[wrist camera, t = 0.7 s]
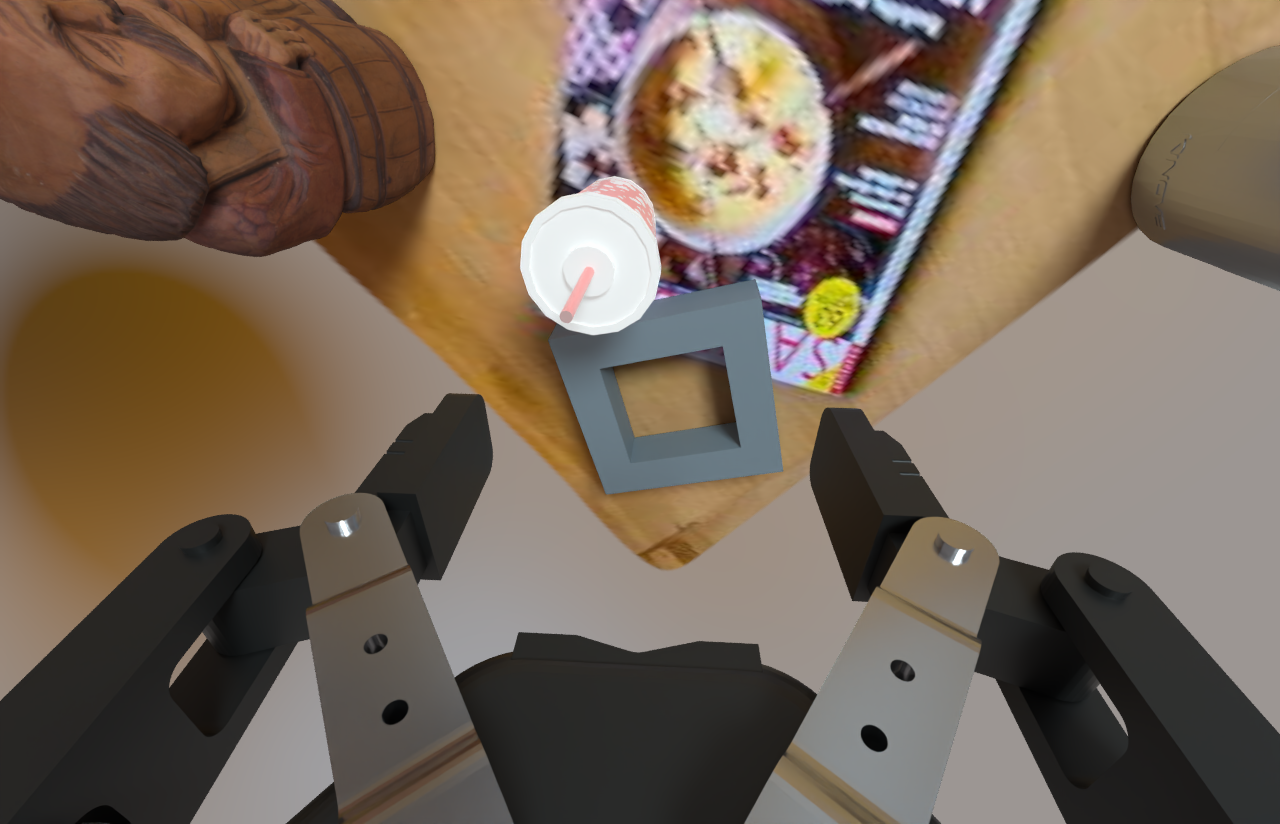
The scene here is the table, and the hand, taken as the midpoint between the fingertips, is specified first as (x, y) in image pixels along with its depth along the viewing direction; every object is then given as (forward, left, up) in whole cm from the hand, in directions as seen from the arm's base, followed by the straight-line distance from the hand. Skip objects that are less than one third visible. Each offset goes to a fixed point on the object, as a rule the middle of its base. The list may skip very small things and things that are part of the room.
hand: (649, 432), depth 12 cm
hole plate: (+2, +11, -21) cm, 23 cm away
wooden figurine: (+15, -11, -21) cm, 28 cm away
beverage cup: (+3, -1, -21) cm, 21 cm away
